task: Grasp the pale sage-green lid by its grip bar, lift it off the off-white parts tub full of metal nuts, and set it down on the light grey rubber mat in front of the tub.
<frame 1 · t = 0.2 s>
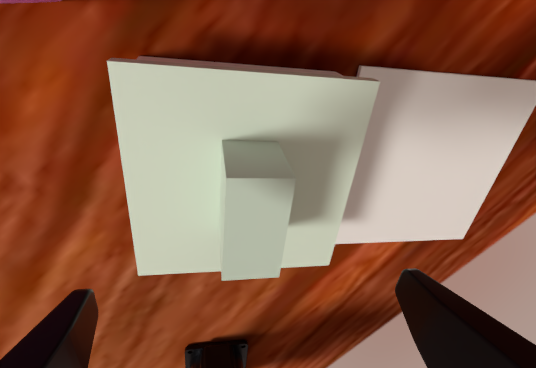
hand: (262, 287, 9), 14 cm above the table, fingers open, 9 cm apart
tub: (238, 153, 22), on the table
lid: (244, 182, 19), point 4 cm above the table, touching tub
mat: (420, 168, 26), on the table
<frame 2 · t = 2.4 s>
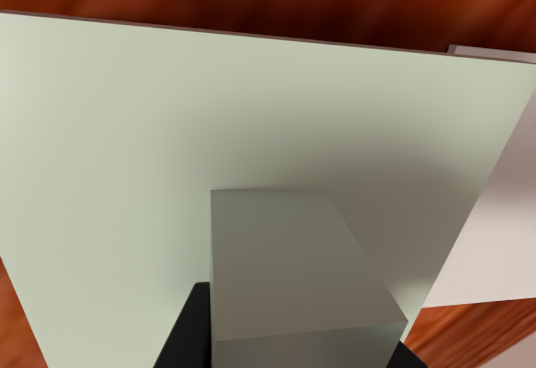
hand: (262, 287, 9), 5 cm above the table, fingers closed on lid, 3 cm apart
lid: (255, 255, 10), point 4 cm above the table, touching gripper, tub
mat: (514, 205, 17), on the table
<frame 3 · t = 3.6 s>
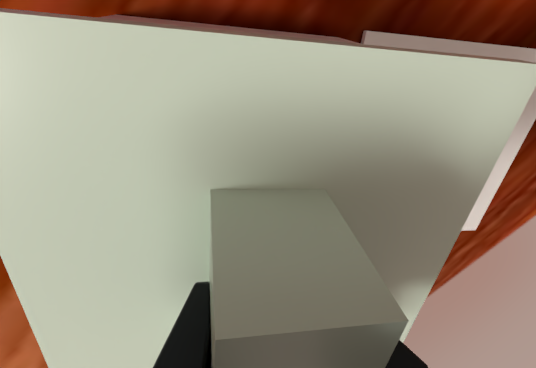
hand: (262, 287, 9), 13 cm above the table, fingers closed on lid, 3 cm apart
tub: (230, 131, 20), on the table
lid: (255, 255, 10), point 11 cm above the table, touching gripper
mat: (430, 150, 23), on the table
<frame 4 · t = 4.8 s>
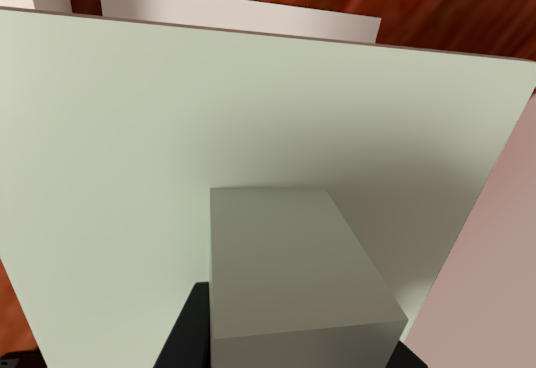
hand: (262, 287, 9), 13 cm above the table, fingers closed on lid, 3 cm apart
lid: (255, 254, 10), point 12 cm above the table, touching gripper
mat: (242, 132, 20), on the table
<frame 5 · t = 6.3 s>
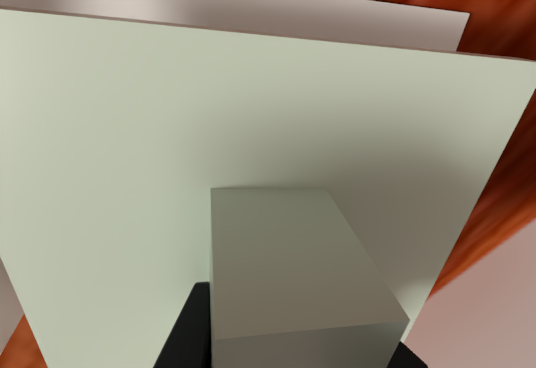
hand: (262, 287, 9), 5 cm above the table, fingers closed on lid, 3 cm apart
lid: (255, 254, 10), point 4 cm above the table, touching gripper
mat: (244, 189, 14), on the table
when the fingers open (3 cm above the table, at t = 7.4 s): lid drops 2 cm, resting on mat.
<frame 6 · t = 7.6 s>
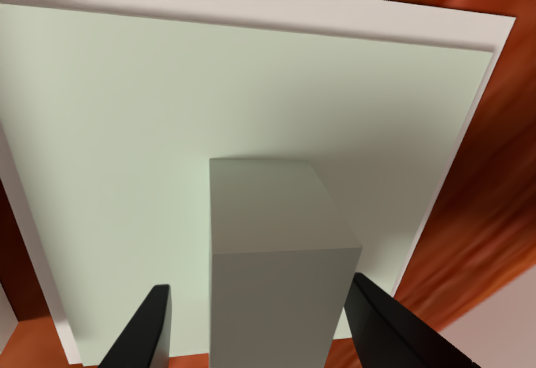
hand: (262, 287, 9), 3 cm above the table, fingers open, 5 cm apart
lid: (249, 223, 12), resting on mat
mat: (248, 217, 12), on the table
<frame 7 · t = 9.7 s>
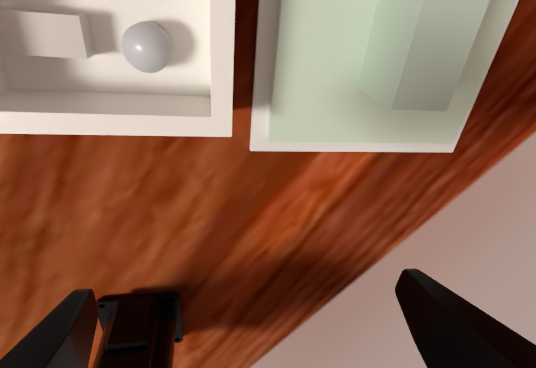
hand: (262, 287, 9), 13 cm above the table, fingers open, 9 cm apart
lid: (388, 31, 18), resting on mat
mat: (385, 31, 18), on the table
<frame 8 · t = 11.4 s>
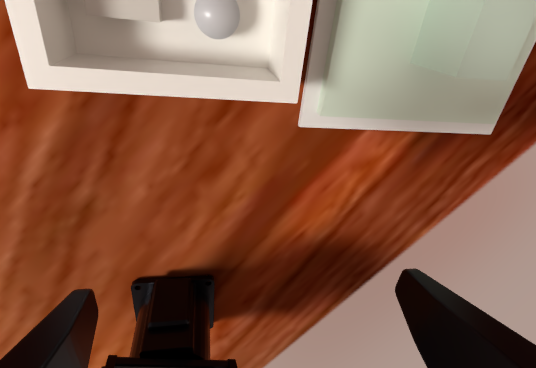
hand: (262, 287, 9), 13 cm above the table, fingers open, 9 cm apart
lid: (441, 8, 18), resting on mat
mat: (437, 9, 19), on the table
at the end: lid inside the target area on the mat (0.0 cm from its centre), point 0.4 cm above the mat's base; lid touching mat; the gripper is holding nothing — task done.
